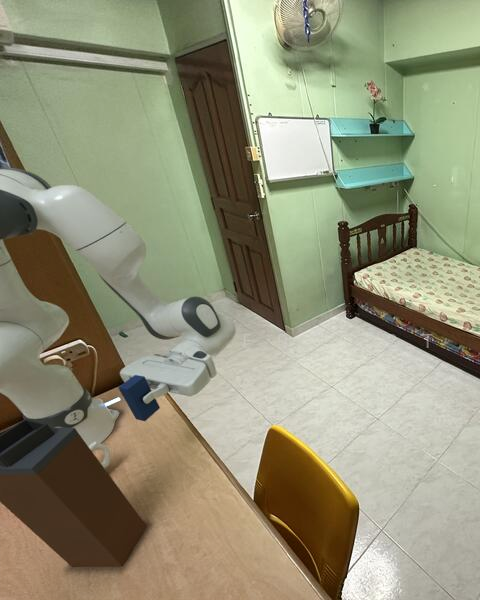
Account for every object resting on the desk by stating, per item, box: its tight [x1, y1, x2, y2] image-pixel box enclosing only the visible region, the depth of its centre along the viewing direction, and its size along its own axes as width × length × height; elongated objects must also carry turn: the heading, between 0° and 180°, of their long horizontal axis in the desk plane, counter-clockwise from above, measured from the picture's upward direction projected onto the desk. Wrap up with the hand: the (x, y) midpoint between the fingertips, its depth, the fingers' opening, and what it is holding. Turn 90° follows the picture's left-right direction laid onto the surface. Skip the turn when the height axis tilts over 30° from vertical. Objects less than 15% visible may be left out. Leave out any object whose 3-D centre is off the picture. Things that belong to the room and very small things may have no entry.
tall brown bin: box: [0, 418, 148, 568], centre depth 57 cm, size 10×7×35 cm
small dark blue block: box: [117, 375, 161, 422], centre depth 70 cm, size 2×4×10 cm, turn 168°
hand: (135, 399), depth 69 cm, fingers closed on small dark blue block, 2 cm apart
